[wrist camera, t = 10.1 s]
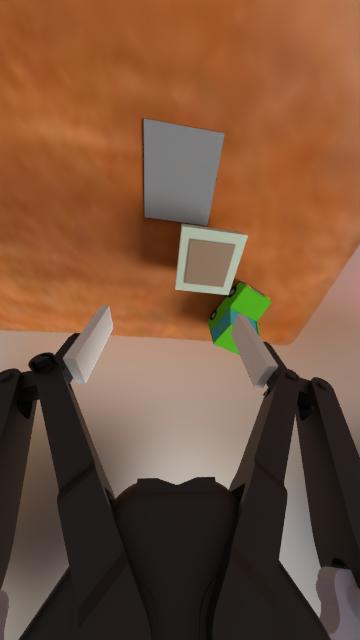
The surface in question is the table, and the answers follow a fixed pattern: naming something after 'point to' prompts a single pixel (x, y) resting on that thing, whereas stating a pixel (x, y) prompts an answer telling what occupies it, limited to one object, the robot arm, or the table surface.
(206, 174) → the mat
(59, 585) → the robot arm
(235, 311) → the toy car
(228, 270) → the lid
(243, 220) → the table surface
